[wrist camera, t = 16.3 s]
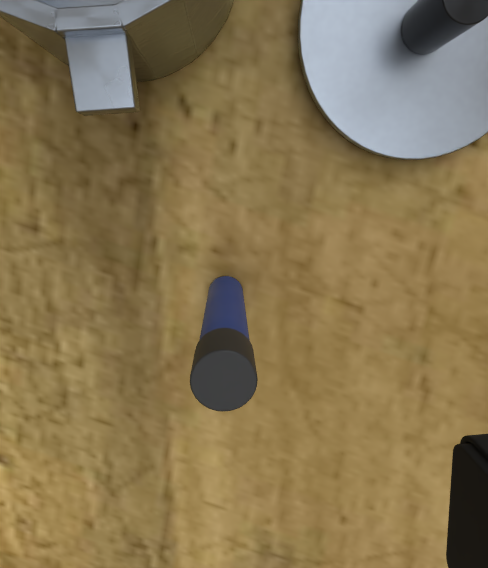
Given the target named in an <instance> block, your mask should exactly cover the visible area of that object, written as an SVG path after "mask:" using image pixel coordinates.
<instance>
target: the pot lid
mask: <svg viewBox="0 0 488 568" xmlns="http://www.w3.org/2000/svg"><path fill="white" fill-rule="evenodd" d="M298 47H299V58H300V62H301V67H302V71H303V75H304V78H305V81H306V84H307V87H308V89H309V92H310V94H311V96H312V98H313V100H314V102H315V104H316V105H317V107H318V108H319V110H320V111H321V113H322V114H323V116H324V117H325V119H326V120H327V121H328V122H329V123H330V124H331V125H332V126H333V128H334V129H335V130H336V131H338V132H339V133H340V134H341V135H342V136H343V137H345V138H346V139H347V140H348V141H350V142H352V143H353V144H355V145H356V146H358V147H360V148H362V149H364V150H366V151H368V152H371V153H373V154H376V155H380V156H383V157H387V158H393V159H400V160H419V159H426V158H433V157H438V156H442V155H445V154H449V153H452V152H454V151H456V150H459V149H461V148H464V147H466V146H467V145H469V144H471V143H473V142H474V141H476V140H478V139H480V138H481V137H482V136H484V135H485V134H486V133H487V132H488V0H301V5H300V12H299V19H298Z"/></svg>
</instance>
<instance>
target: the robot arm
mask: <svg viewBox="0 0 488 568" xmlns="http://www.w3.org/2000/svg"><path fill="white" fill-rule="evenodd" d="M446 558H447V564H448V567H449V568H488V434H481V435H469V436H464V437H463V438H462V440H461V443H460V444H457V445H455V447H454V449H453V460H452V476H451V491H450V506H449V521H448V537H447V552H446Z"/></svg>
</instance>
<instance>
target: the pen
mask: <svg viewBox="0 0 488 568" xmlns="http://www.w3.org/2000/svg"><path fill="white" fill-rule="evenodd" d="M190 386H191V390H192V392H193V394H194V396H195V397H196V399H197V400H198V401H199V402H200V403H201V404H202V405H204V406H206V407H207V408H209V409H212V410H216V411H231V410H235V409H237V408H240V407H241V406H243V405H244V404H246V403H247V402H248V401H249V400H250V399H251V397H252V396H253V394H254V392H255V390H256V387H257V372H256V366H255V359H254V352H253V348H252V345H251V343H250V341H249V334H248V326H247V319H246V311H245V304H244V296H243V289H242V286H241V284H240V283H239V282H238V281H237V280H236V279H235V278H233V277H229V276H222V277H219V278H217V279H215V280H214V281H213V282H212V283H211V285H210V287H209V291H208V297H207V302H206V308H205V313H204V319H203V324H202V330H201V335H200V340H199V342H198V344H197V346H196V350H195V354H194V359H193V364H192V370H191V375H190Z"/></svg>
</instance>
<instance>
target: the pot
mask: <svg viewBox="0 0 488 568" xmlns="http://www.w3.org/2000/svg"><path fill="white" fill-rule="evenodd" d="M233 1H234V0H0V16H1V17H2V18H3V19H5V20H6V21H8V22H9V23H10V24H12V25H13V26H14V27H16V28H17V29H19V30H20V31H21V32H23V33H24V34H25V35H27V36H28V37H29V38H31V39H32V40H34V41H35V42H36V43H38V44H39V45H40V46H42V47H43V48H45V49H46V50H47V51H49V52H50V53H51V54H53V55H54V56H56V57H57V58H58V59H60V60H61V61H62V62H64V63H65V64H66V65H68V66H69V70H70V76H71V83H72V89H73V96H74V102H75V109H76V112H78V113H80V114H82V115H84V116H88V115H102V114H117V113H131V112H139V111H140V108H139V100H138V91H137V83H136V82H142V81H149V80H154V79H157V78H161V77H164V76H167V75H169V74H171V73H174V72H176V71H178V70H180V69H181V68H183V67H184V66H186V65H188V64H189V63H191V62H192V61H193V60H194V59H196V58H197V57H198V56H199V55H200V54H201V53H203V51H204V50H205V49H206V48H207V47H208V46H209V45H210V44H211V42H212V41H213V40H214V38H215V37H216V36H217V34H218V33H219V31H220V30H221V28H222V26H223V24H224V22H225V21H226V20H227V18H228V15H229V12H230V9H231V6H232V3H233Z"/></svg>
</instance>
